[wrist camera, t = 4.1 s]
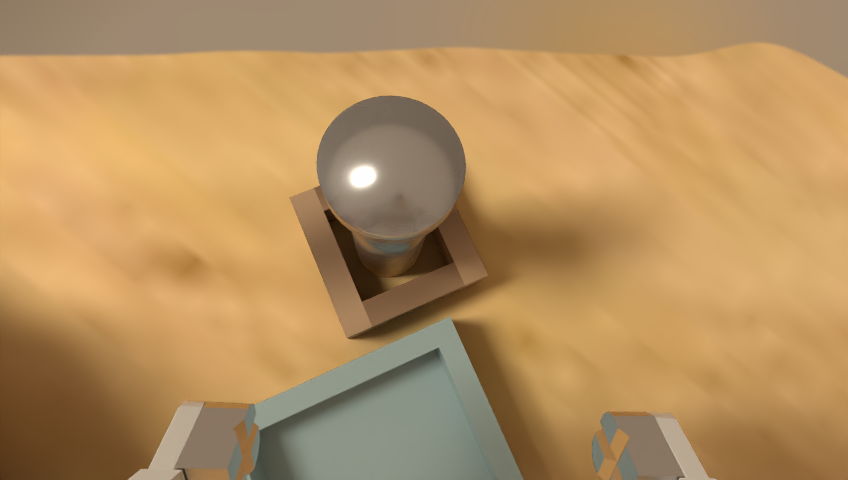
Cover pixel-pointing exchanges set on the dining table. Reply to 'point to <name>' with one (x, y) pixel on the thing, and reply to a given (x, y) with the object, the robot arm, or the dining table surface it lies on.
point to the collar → (401, 299)
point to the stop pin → (390, 177)
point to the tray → (387, 419)
